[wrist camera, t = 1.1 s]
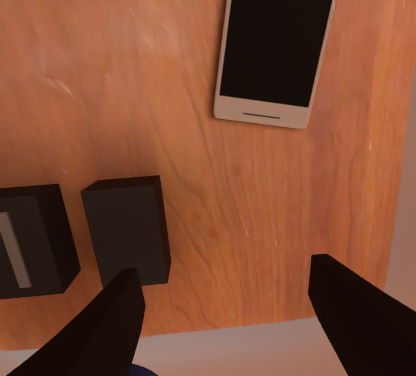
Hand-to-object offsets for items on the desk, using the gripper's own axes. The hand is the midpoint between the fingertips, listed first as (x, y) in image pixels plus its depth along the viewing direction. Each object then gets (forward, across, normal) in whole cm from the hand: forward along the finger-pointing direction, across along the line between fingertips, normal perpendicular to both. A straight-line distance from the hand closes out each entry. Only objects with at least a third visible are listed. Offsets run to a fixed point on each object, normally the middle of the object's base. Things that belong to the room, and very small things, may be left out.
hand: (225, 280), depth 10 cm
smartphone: (+12, -5, -12) cm, 18 cm away
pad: (+10, +7, +2) cm, 13 cm away
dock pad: (+10, +15, +2) cm, 18 cm away
